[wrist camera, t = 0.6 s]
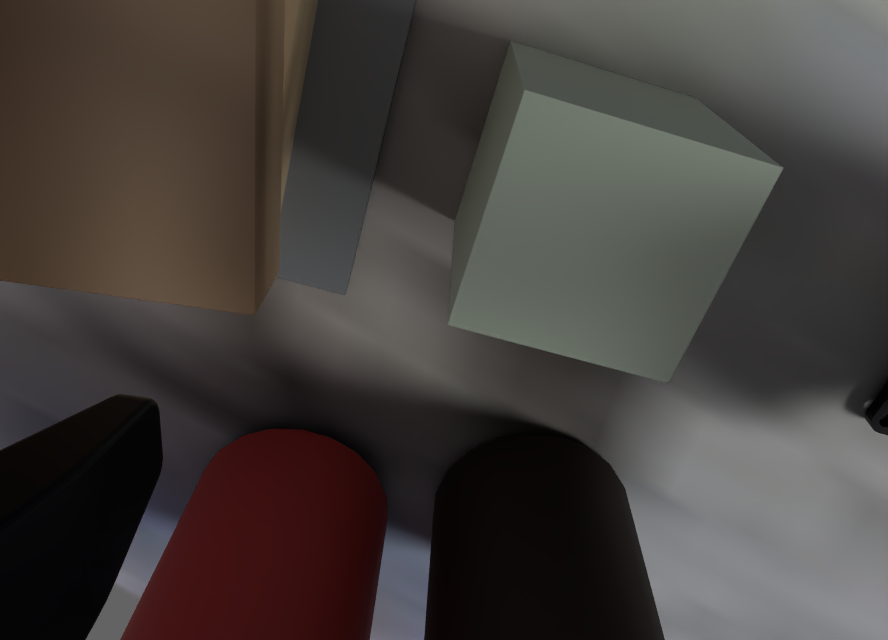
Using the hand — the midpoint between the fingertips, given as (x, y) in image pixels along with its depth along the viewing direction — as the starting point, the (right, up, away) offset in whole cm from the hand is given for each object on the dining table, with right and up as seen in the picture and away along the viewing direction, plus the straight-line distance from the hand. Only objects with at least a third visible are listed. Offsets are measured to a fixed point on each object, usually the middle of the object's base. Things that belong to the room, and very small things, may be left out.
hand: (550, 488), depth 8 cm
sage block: (+2, +6, +11) cm, 13 cm away
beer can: (-6, -4, +18) cm, 19 cm away
